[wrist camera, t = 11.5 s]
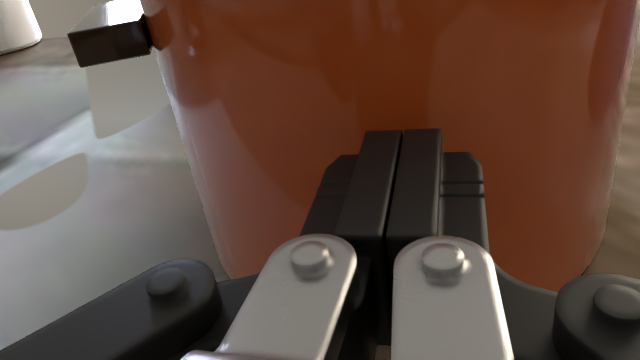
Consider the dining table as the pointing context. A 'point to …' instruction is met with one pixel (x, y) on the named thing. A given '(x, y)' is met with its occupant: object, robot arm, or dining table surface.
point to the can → (17, 26)
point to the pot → (390, 107)
